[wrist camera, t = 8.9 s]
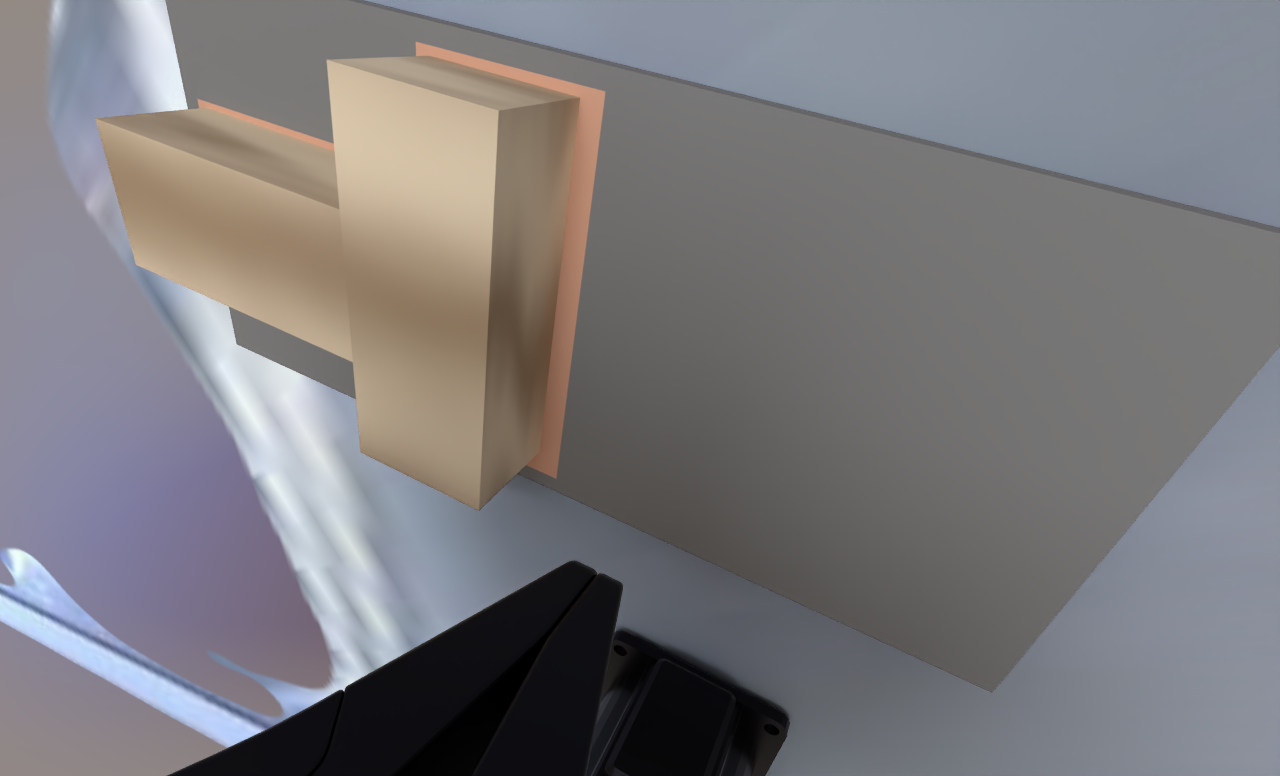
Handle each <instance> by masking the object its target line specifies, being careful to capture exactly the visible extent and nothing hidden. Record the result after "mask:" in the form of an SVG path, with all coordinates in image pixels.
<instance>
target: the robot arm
mask: <svg viewBox="0 0 1280 776" xmlns="http://www.w3.org/2000/svg"><path fill="white" fill-rule="evenodd" d="M622 591H623V585H622V583H621V582H619V581H617V580H615V579H613V578H611V577H609V576H607V575H605V574H601V573H600V574H598V575H597V572H596V571H595V570H594V569H592V568H590V567H588V566H586V565H584V564H582V563H580V562H578V561H569V562H567V563H565V564H564V565H562V566H560V567H558V568H556V569H555V570H553V571H551V572H549V573H548V574H546V575H544V576H542V577H540V578H539V579H537V580H535V581H533V582H531V583H530V584H528V585H526V586H524V587H523V588H521V589H519V590H517V591H515V592H514V593H512V594H510V595H508V596H507V597H505V598H503V599H501V600H499V601H498V602H496V603H494V604H492V605H491V606H489V607H487V608H485V609H483V610H482V611H480V612H478V613H476V614H475V615H473V616H471V617H469V618H467V619H466V620H464V621H462V622H460V623H458V624H457V625H455V626H453V627H451V628H450V629H448V630H446V631H444V632H442V633H441V634H439V635H437V636H435V637H434V638H432V639H430V640H428V641H426V642H425V643H423V644H421V645H419V646H417V647H416V648H414V649H412V650H410V651H409V652H407V653H405V654H403V655H401V656H400V657H398V658H396V659H394V660H393V661H391V662H389V663H387V664H385V665H384V666H382V667H380V668H378V669H376V670H375V671H373V672H371V673H369V674H368V675H366V676H364V677H362V678H360V679H359V680H357V681H355V682H353V683H352V684H350V685H348V686H347V687H346V688H345V691H343V690H338V691H337V692H335V693H333V694H331V695H330V696H328V697H326V698H324V699H323V700H321V701H319V702H317V703H316V704H314V705H312V706H310V707H308V708H306V709H304V710H303V711H301V712H299V713H297V714H295V715H293V716H291V717H289V718H288V719H286V720H284V721H282V722H280V723H278V724H276V725H274V726H272V727H271V728H269V729H267V730H265V731H263V732H261V733H258V734H256V735H254V736H252V737H250V738H248V739H246V740H244V741H241V742H239V743H237V744H235V745H233V746H231V747H229V748H227V749H225V750H222V751H220V752H218V753H216V754H214V755H212V756H210V757H207V758H205V759H203V760H201V761H199V762H196V763H194V764H192V765H190V766H187V767H185V768H183V769H181V770H179V771H176V772H174V773H173V774H170V775H167V776H765V775H766V773H767V771H768V770H769V768H770V766H771V764H772V762H773V761H774V759H775V757H776V755H777V753H778V752H779V750H780V748H781V746H782V744H783V743H784V741H785V739H786V737H787V733H788V729H789V725H790V722H789V719H788V718H787V717H786V715H785V714H783V713H782V712H780V711H779V710H777V709H775V708H773V707H771V706H769V705H767V704H765V703H763V702H761V701H759V700H757V699H755V698H753V697H751V696H750V695H748V694H746V693H744V692H742V691H740V690H738V689H736V688H734V687H732V686H730V685H728V684H726V683H724V682H722V681H720V680H718V679H716V678H714V677H712V676H710V675H708V674H707V673H705V672H703V671H701V670H699V669H697V668H695V667H693V666H691V665H689V664H687V663H685V662H683V661H681V660H679V659H677V658H675V657H673V656H671V655H669V654H667V653H665V652H664V651H662V650H660V649H658V648H656V647H654V646H652V645H650V644H648V643H646V642H644V641H642V640H640V639H638V638H636V637H634V636H632V635H630V634H628V633H626V632H623V631H616V632H614V631H615V626H616V621H617V616H618V611H619V606H620V601H621V596H622Z"/></svg>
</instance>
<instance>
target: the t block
mask: <svg viewBox="0 0 1280 776" xmlns="http://www.w3.org/2000/svg"><path fill="white" fill-rule="evenodd" d="M327 70H328V82H329V93H330V105H331V116H332V128H333V139H334V151H333V150H330V149H327V148H324V147H322V146H319V145H316V144H313V143H310V142H307V141H304V140H301V139H298V138H295V137H292V136H289V135H287V134H284V133H281V132H278V131H275V130H272V129H269V128H266V127H263V126H260V125H257V124H255V123H252V122H249V121H246V120H243V119H240V118H237V117H234V116H231V115H228V114H225V113H222V112H220V111H217V110H214V109H211V108H198V109H188V110H177V111H167V112H156V113H146V114H136V115H125V116H115V117H104V118H95V119H96V123H97V126H98V130H99V133H100V137H101V141H102V144H103V148H104V151H105V155H106V159H107V162H108V166H109V169H110V173H111V176H112V180H113V184H114V187H115V191H116V194H117V198H118V201H119V205H120V209H121V212H122V216H123V219H124V223H125V227H126V230H127V234H128V237H129V241H130V244H131V248H132V252H133V255H134V259H135V262H136V265H138V266H140V267H142V268H145V269H147V270H149V271H151V272H154V273H156V274H158V275H160V276H162V277H165V278H167V279H169V280H171V281H174V282H176V283H178V284H180V285H182V286H185V287H187V288H189V289H191V290H194V291H196V292H198V293H200V294H202V295H205V296H207V297H209V298H211V299H213V300H216V301H218V302H220V303H222V304H225V305H227V306H229V307H231V308H233V309H236V310H238V311H240V312H242V313H245V314H247V315H249V316H251V317H253V318H256V319H258V320H260V321H262V322H265V323H267V324H269V325H271V326H273V327H276V328H278V329H280V330H282V331H285V332H287V333H289V334H291V335H293V336H296V337H298V338H300V339H302V340H305V341H307V342H309V343H311V344H313V345H316V346H318V347H320V348H322V349H324V350H327V351H329V352H331V353H333V354H336V355H338V356H340V357H342V358H344V359H347V360H349V361H351V362H353V370H354V382H355V393H356V405H357V416H358V428H359V439H360V451H361V453H363V454H365V455H367V456H369V457H371V458H373V459H375V460H377V461H379V462H381V463H383V464H385V465H387V466H389V467H391V468H393V469H395V470H397V471H399V472H401V473H403V474H405V475H407V476H409V477H411V478H413V479H415V480H418V481H420V482H422V483H424V484H426V485H428V486H430V487H432V488H434V489H436V490H438V491H440V492H442V493H444V494H446V495H448V496H450V497H452V498H454V499H456V500H458V501H460V502H462V503H464V504H466V505H468V506H470V507H472V508H474V509H476V510H478V511H479V510H480V509H481V508H482V507H484V506H485V505H486V504H487V503H488V502H489V501H490V500H491V499H492V498H493V497H494V496H495V495H496V494H497V493H498V492H499V491H500V490H501V489H502V488H503V487H504V486H505V485H506V484H507V483H508V482H509V481H510V480H511V479H512V478H513V477H514V476H515V475H516V474H517V473H518V472H519V471H520V470H521V469H522V468H523V467H524V466H525V465H526V464H527V463H529V462H530V461H531V460H532V459H533V458H534V457H535V456H536V455H537V454H538V453H539V452H540V445H541V436H542V427H543V418H544V409H545V401H546V392H547V383H548V374H549V365H550V357H551V348H552V339H553V330H554V322H555V313H556V304H557V295H558V286H559V278H560V269H561V260H562V251H563V243H564V234H565V225H566V216H567V207H568V199H569V190H570V181H571V172H572V164H573V155H574V146H575V137H576V128H577V120H578V111H579V102H580V97H577V96H573V95H570V94H566V93H562V92H559V91H555V90H552V89H548V88H544V87H541V86H537V85H534V84H530V83H527V82H523V81H519V80H516V79H512V78H509V77H505V76H501V75H498V74H494V73H491V72H487V71H483V70H480V69H476V68H473V67H469V66H466V65H462V64H458V63H455V62H451V61H448V60H444V59H440V58H437V57H433V56H408V57H383V58H357V59H332V60H327Z"/></svg>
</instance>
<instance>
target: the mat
mask: <svg viewBox="0 0 1280 776" xmlns="http://www.w3.org/2000/svg"><path fill="white" fill-rule="evenodd" d="M166 5H167V10H168V14H169V19H170V24H171V29H172V34H173V39H174V43H175V48H176V53H177V58H178V63H179V68H180V72H181V77H182V82H183V87H184V92H185V97H186V101H187V106H188V109H198V108H211V109H214V110H217V111H220V112H222V113H225V114H228V115H231V116H234V117H237V118H240V119H243V120H246V121H249V122H252V123H255V124H257V125H260V126H263V127H266V128H269V129H272V130H275V131H278V132H281V133H284V134H287V135H289V136H292V137H295V138H298V139H301V140H304V141H307V142H310V143H313V144H316V145H319V146H322V147H324V148H327V149H330V150H333V151H334V139H333V128H332V116H331V105H330V93H329V82H328V70H327V60H332V59H357V58H383V57H408V56H433V57H437V58H440V59H444V60H448V61H451V62H455V63H458V64H462V65H466V66H469V67H473V68H476V69H480V70H483V71H487V72H491V73H494V74H498V75H501V76H505V77H509V78H512V79H516V80H519V81H523V82H527V83H530V84H534V85H537V86H541V87H544V88H548V89H552V90H555V91H559V92H562V93H566V94H570V95H573V96H577V97H580V102H579V111H578V120H577V128H576V137H575V146H574V155H573V164H572V172H571V181H570V190H569V199H568V207H567V216H566V225H565V234H564V243H563V251H562V260H561V269H560V278H559V286H558V295H557V304H556V313H555V322H554V330H553V339H552V348H551V357H550V365H549V374H548V383H547V392H546V401H545V409H544V418H543V427H542V436H541V445H540V452H539V453H538V454H537V455H536V456H535V457H534V458H533V459H532V460H531V461H530V462H529V463H527V464H526V465H525V466H524V467H523V468H522V469H521V470H520V471H519V472H518V473H517V474H519V475H521V476H524V477H526V478H528V479H530V480H532V481H534V482H537V483H539V484H541V485H543V486H545V487H547V488H550V489H552V490H554V491H556V492H558V493H560V494H563V495H565V496H567V497H569V498H571V499H573V500H576V501H578V502H580V503H582V504H584V505H586V506H589V507H591V508H593V509H595V510H597V511H599V512H602V513H604V514H606V515H608V516H610V517H612V518H615V519H617V520H619V521H621V522H623V523H625V524H628V525H630V526H632V527H634V528H636V529H638V530H641V531H643V532H645V533H647V534H649V535H651V536H654V537H656V538H658V539H660V540H662V541H664V542H667V543H669V544H671V545H673V546H675V547H677V548H680V549H682V550H684V551H686V552H688V553H690V554H693V555H695V556H697V557H699V558H701V559H703V560H706V561H708V562H710V563H712V564H714V565H716V566H719V567H721V568H723V569H725V570H727V571H729V572H732V573H734V574H736V575H738V576H740V577H742V578H745V579H747V580H749V581H751V582H753V583H755V584H758V585H760V586H762V587H764V588H766V589H768V590H771V591H773V592H775V593H777V594H779V595H781V596H784V597H786V598H788V599H790V600H792V601H794V602H797V603H799V604H801V605H803V606H805V607H808V608H810V609H812V610H814V611H816V612H818V613H821V614H823V615H825V616H827V617H829V618H831V619H834V620H836V621H838V622H840V623H842V624H844V625H847V626H849V627H851V628H853V629H855V630H857V631H860V632H862V633H864V634H866V635H868V636H870V637H873V638H875V639H877V640H879V641H881V642H883V643H886V644H888V645H890V646H892V647H894V648H896V649H899V650H901V651H903V652H905V653H907V654H909V655H912V656H914V657H916V658H918V659H920V660H922V661H925V662H927V663H929V664H931V665H933V666H935V667H938V668H940V669H942V670H944V671H946V672H948V673H951V674H953V675H955V676H957V677H959V678H961V679H964V680H966V681H968V682H970V683H972V684H974V685H977V686H979V687H981V688H983V689H985V690H987V691H990V692H993V691H994V690H995V689H996V687H997V686H998V685H999V684H1000V683H1001V681H1002V680H1003V679H1004V678H1005V677H1006V675H1007V674H1008V673H1009V672H1010V671H1011V669H1012V668H1013V667H1014V666H1015V665H1016V663H1017V662H1018V661H1019V660H1020V659H1021V657H1022V656H1023V655H1024V654H1025V653H1026V651H1027V650H1028V649H1029V648H1030V647H1031V645H1032V644H1033V643H1034V642H1035V640H1036V639H1037V638H1038V637H1039V636H1040V634H1041V633H1042V632H1043V631H1044V630H1045V628H1046V627H1047V626H1048V625H1049V624H1050V622H1051V621H1052V620H1053V619H1054V618H1055V616H1056V615H1057V614H1058V613H1059V612H1060V610H1061V609H1062V608H1063V607H1064V606H1065V604H1066V603H1067V602H1068V601H1069V600H1070V598H1071V597H1072V596H1073V595H1074V594H1075V592H1076V591H1077V590H1078V589H1079V587H1080V586H1081V585H1082V584H1083V583H1084V581H1085V580H1086V579H1087V578H1088V577H1089V575H1090V574H1091V573H1092V572H1093V571H1094V569H1095V568H1096V567H1097V566H1098V565H1099V563H1100V562H1101V561H1102V560H1103V559H1104V557H1105V556H1106V555H1107V554H1108V553H1109V551H1110V550H1111V549H1112V548H1113V547H1114V545H1115V544H1116V543H1117V542H1118V541H1119V539H1120V538H1121V537H1122V536H1123V535H1124V533H1125V532H1126V531H1127V530H1128V528H1129V527H1130V526H1131V525H1132V524H1133V522H1134V521H1135V520H1136V519H1137V518H1138V516H1139V515H1140V514H1141V513H1142V512H1143V510H1144V509H1145V508H1146V507H1147V506H1148V504H1149V503H1150V502H1151V501H1152V500H1153V498H1154V497H1155V496H1156V495H1157V494H1158V492H1159V491H1160V490H1161V489H1162V488H1163V486H1164V485H1165V484H1166V483H1167V482H1168V480H1169V479H1170V478H1171V477H1172V476H1173V474H1174V473H1175V472H1176V471H1177V469H1178V468H1179V467H1180V466H1181V465H1182V463H1183V462H1184V461H1185V460H1186V459H1187V457H1188V456H1189V455H1190V454H1191V453H1192V451H1193V450H1194V449H1195V448H1196V447H1197V445H1198V444H1199V443H1200V442H1201V441H1202V439H1203V438H1204V437H1205V436H1206V435H1207V433H1208V432H1209V431H1210V430H1211V429H1212V427H1213V426H1214V425H1215V424H1216V423H1217V421H1218V420H1219V419H1220V418H1221V417H1222V415H1223V414H1224V413H1225V412H1226V410H1227V409H1228V408H1229V407H1230V406H1231V404H1232V403H1233V402H1234V401H1235V400H1236V398H1237V397H1238V396H1239V395H1240V394H1241V392H1242V391H1243V390H1244V389H1245V388H1246V386H1247V385H1248V384H1249V383H1250V382H1251V380H1252V379H1253V378H1254V377H1255V376H1256V374H1257V373H1258V372H1259V371H1260V370H1261V368H1262V367H1263V366H1264V365H1265V364H1266V362H1267V361H1268V360H1269V359H1270V358H1271V356H1272V355H1273V354H1274V353H1275V351H1276V350H1277V349H1278V348H1279V347H1280V228H1277V227H1273V226H1269V225H1265V224H1261V223H1257V222H1253V221H1249V220H1245V219H1241V218H1237V217H1233V216H1229V215H1225V214H1221V213H1217V212H1213V211H1209V210H1205V209H1201V208H1197V207H1193V206H1189V205H1185V204H1181V203H1177V202H1173V201H1169V200H1165V199H1161V198H1156V197H1152V196H1148V195H1144V194H1140V193H1136V192H1132V191H1128V190H1124V189H1120V188H1116V187H1112V186H1108V185H1104V184H1100V183H1096V182H1092V181H1088V180H1084V179H1080V178H1076V177H1072V176H1068V175H1064V174H1060V173H1056V172H1052V171H1048V170H1044V169H1040V168H1036V167H1032V166H1028V165H1024V164H1020V163H1016V162H1012V161H1008V160H1004V159H1000V158H996V157H992V156H987V155H983V154H979V153H975V152H971V151H967V150H963V149H959V148H955V147H951V146H947V145H943V144H939V143H935V142H931V141H927V140H923V139H919V138H915V137H911V136H907V135H903V134H899V133H895V132H891V131H887V130H883V129H879V128H875V127H871V126H867V125H863V124H859V123H855V122H851V121H847V120H843V119H839V118H835V117H831V116H827V115H823V114H819V113H814V112H810V111H806V110H802V109H798V108H794V107H790V106H786V105H782V104H778V103H774V102H770V101H766V100H762V99H758V98H754V97H750V96H746V95H742V94H738V93H734V92H730V91H726V90H722V89H718V88H714V87H710V86H706V85H702V84H698V83H694V82H690V81H686V80H682V79H678V78H674V77H670V76H666V75H662V74H658V73H654V72H650V71H645V70H641V69H637V68H633V67H629V66H625V65H621V64H617V63H613V62H609V61H605V60H601V59H597V58H593V57H589V56H585V55H581V54H577V53H573V52H569V51H565V50H561V49H557V48H553V47H549V46H545V45H541V44H537V43H533V42H529V41H525V40H521V39H517V38H513V37H509V36H505V35H501V34H497V33H493V32H489V31H485V30H481V29H476V28H472V27H468V26H464V25H460V24H456V23H452V22H448V21H444V20H440V19H436V18H432V17H428V16H424V15H420V14H416V13H412V12H408V11H404V10H400V9H396V8H392V7H388V6H384V5H380V4H376V3H372V2H368V1H364V0H166ZM229 309H230V314H231V319H232V323H233V328H234V333H235V338H236V343H237V345H240V346H242V347H244V348H246V349H248V350H250V351H253V352H255V353H257V354H259V355H261V356H263V357H266V358H268V359H270V360H272V361H274V362H277V363H279V364H281V365H283V366H285V367H287V368H290V369H292V370H294V371H296V372H298V373H300V374H303V375H305V376H307V377H309V378H311V379H313V380H316V381H318V382H320V383H322V384H324V385H326V386H329V387H331V388H333V389H335V390H337V391H339V392H342V393H344V394H346V395H348V396H350V397H352V398H355V399H356V393H355V382H354V370H353V362H351V361H349V360H347V359H344V358H342V357H340V356H338V355H336V354H333V353H331V352H329V351H327V350H324V349H322V348H320V347H318V346H316V345H313V344H311V343H309V342H307V341H305V340H302V339H300V338H298V337H296V336H293V335H291V334H289V333H287V332H285V331H282V330H280V329H278V328H276V327H273V326H271V325H269V324H267V323H265V322H262V321H260V320H258V319H256V318H253V317H251V316H249V315H247V314H245V313H242V312H240V311H238V310H236V309H233V308H231V307H229Z"/></svg>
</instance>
